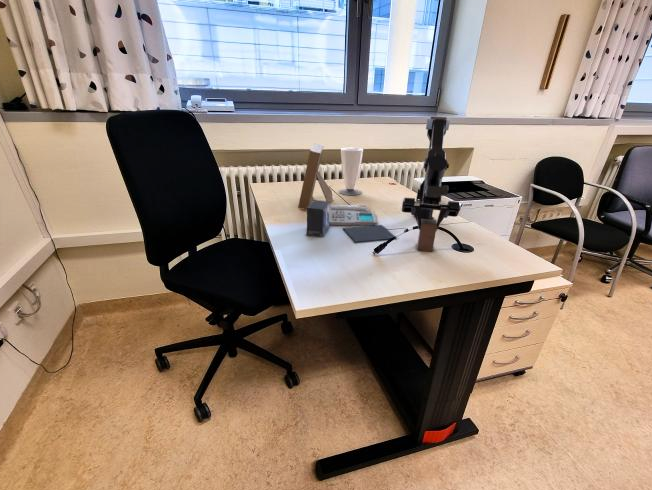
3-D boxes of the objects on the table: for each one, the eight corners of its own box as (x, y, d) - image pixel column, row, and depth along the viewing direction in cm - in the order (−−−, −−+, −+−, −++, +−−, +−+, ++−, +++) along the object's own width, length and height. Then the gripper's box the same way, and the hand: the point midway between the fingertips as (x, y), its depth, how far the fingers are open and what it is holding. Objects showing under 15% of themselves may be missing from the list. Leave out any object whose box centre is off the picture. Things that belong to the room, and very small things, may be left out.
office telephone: (329, 202, 153) (373, 203, 153) (329, 208, 154) (372, 209, 154) (327, 218, 133) (377, 220, 133) (326, 225, 134) (377, 226, 134)
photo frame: (298, 209, 151) (296, 150, 138) (303, 196, 169) (302, 143, 157) (331, 210, 150) (332, 151, 138) (333, 197, 169) (334, 144, 157)
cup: (338, 189, 183) (339, 147, 172) (359, 189, 184) (361, 147, 174) (340, 195, 173) (342, 150, 163) (362, 195, 174) (365, 150, 164)
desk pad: (381, 225, 135) (381, 224, 135) (396, 238, 123) (396, 237, 123) (343, 229, 131) (343, 228, 131) (354, 242, 119) (354, 241, 119)
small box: (323, 237, 123) (323, 209, 118) (306, 235, 124) (305, 207, 119) (329, 227, 132) (330, 200, 127) (313, 226, 133) (313, 199, 128)
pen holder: (417, 244, 119) (421, 218, 114) (431, 246, 118) (436, 219, 114) (417, 250, 115) (421, 223, 110) (432, 251, 114) (437, 224, 109)
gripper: (406, 172, 110) (400, 216, 106) (466, 176, 107) (462, 221, 103) (404, 191, 120) (399, 231, 116) (458, 195, 117) (455, 236, 113)
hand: (427, 230), depth 112 cm, fingers closed on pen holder, 5 cm apart
